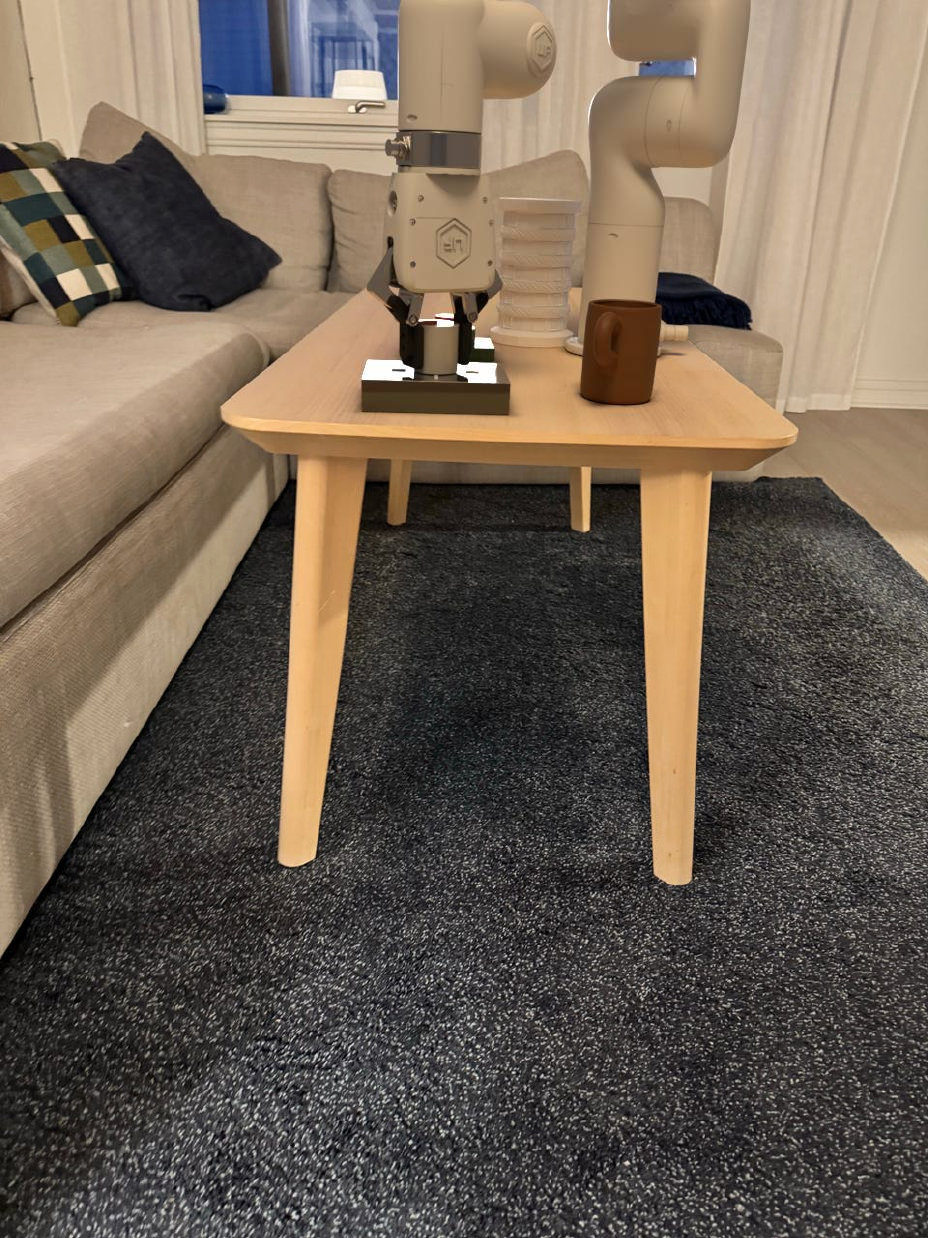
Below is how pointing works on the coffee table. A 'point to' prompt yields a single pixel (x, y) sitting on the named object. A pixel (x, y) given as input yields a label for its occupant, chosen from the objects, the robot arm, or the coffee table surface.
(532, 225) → the decorative container
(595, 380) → the mug
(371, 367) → the hob
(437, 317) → the power button
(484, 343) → the power box
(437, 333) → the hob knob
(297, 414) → the coffee table surface
